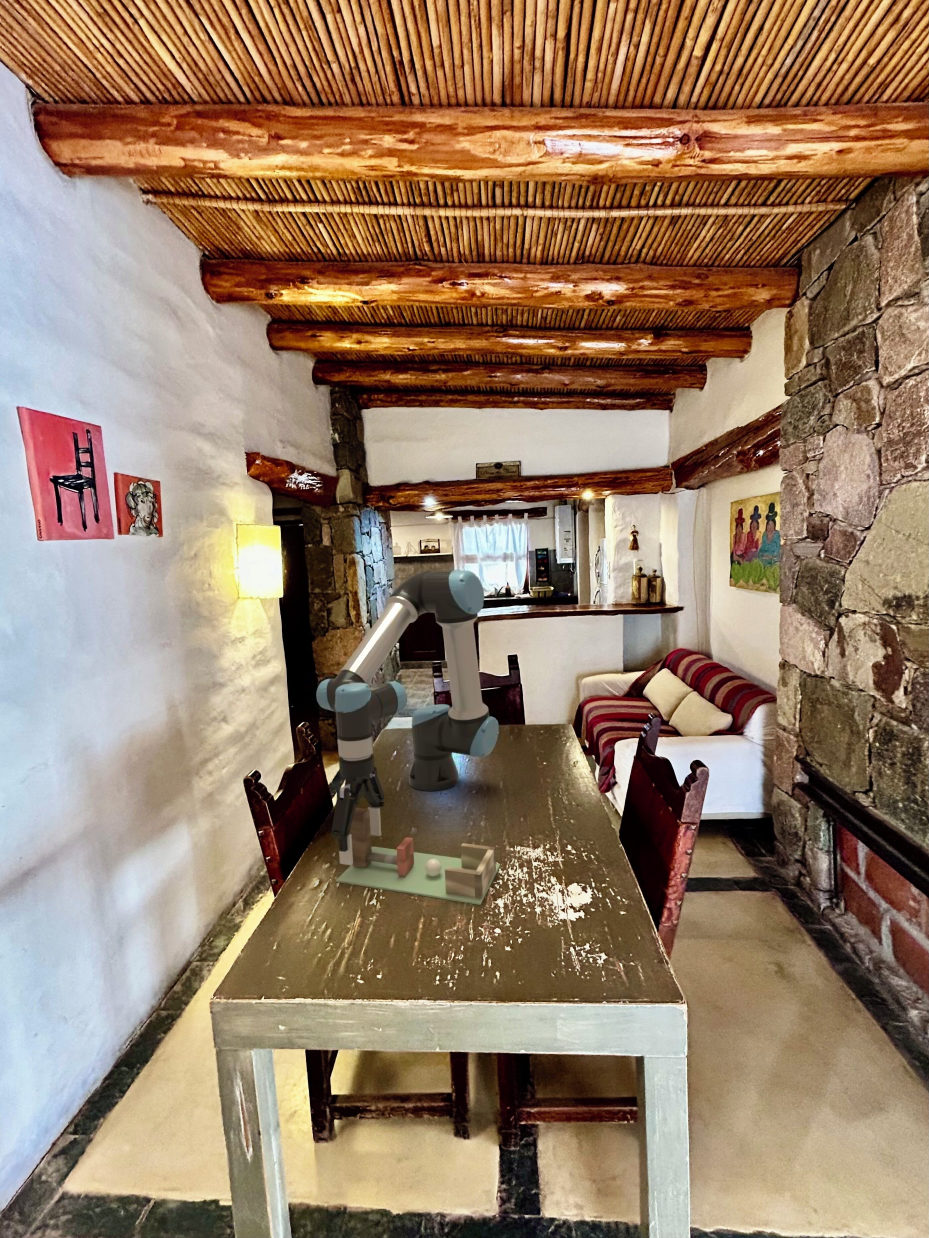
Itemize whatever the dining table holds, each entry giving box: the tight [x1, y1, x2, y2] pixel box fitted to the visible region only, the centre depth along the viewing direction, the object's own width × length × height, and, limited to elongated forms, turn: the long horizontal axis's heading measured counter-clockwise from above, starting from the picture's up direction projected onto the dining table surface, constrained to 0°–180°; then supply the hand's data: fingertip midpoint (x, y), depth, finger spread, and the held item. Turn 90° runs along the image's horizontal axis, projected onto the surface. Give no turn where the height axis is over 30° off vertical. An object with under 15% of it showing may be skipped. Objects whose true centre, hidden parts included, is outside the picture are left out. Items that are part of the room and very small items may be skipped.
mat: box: [336, 845, 501, 906], centre depth 126 cm, size 15×32×1 cm, turn 72°
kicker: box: [349, 807, 415, 876], centre depth 128 cm, size 5×13×12 cm, turn 72°
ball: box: [425, 859, 442, 877], centre depth 124 cm, size 4×4×4 cm
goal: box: [445, 842, 497, 899], centre depth 122 cm, size 11×7×5 cm, turn 162°
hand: (361, 848), depth 130 cm, fingers open, 12 cm apart
